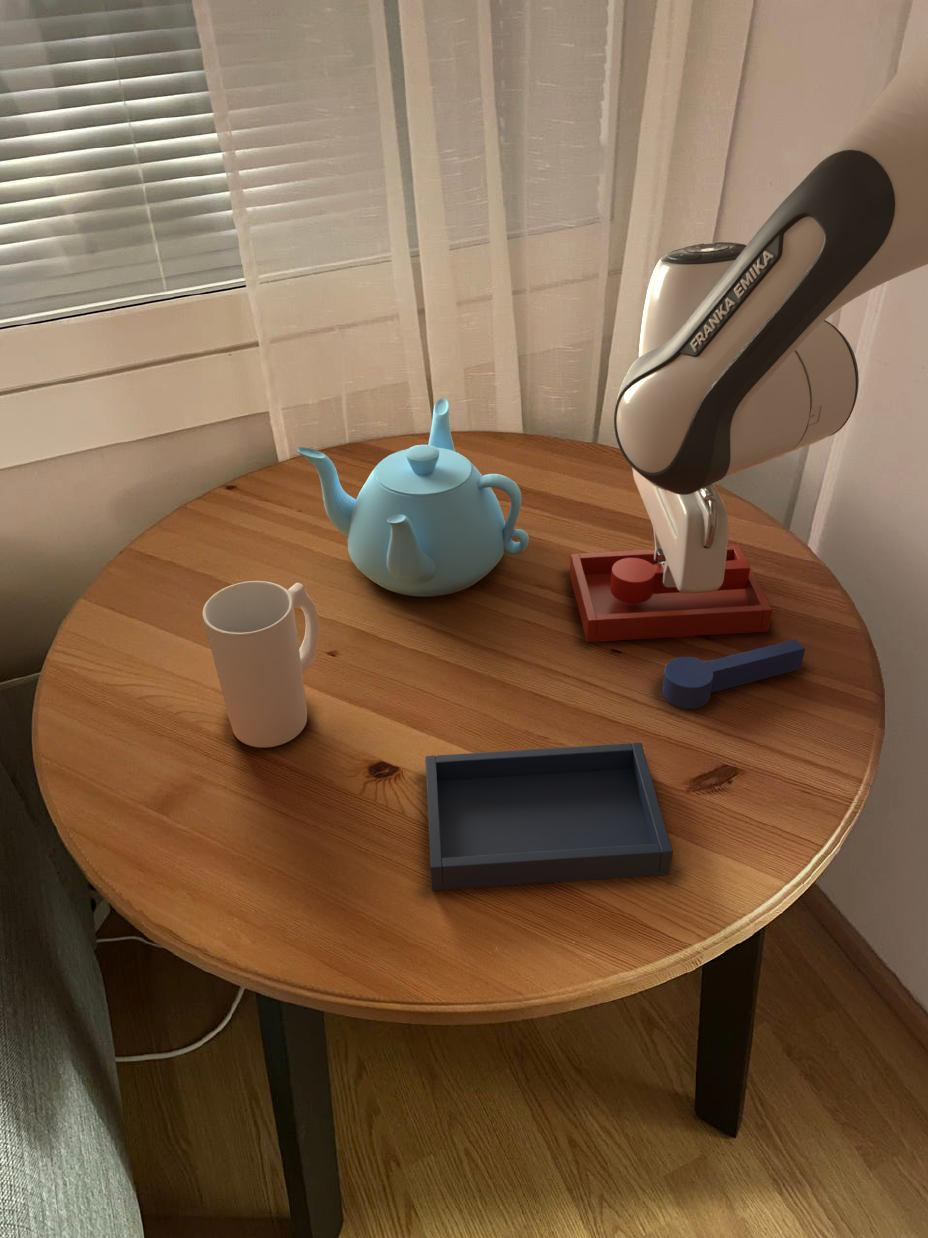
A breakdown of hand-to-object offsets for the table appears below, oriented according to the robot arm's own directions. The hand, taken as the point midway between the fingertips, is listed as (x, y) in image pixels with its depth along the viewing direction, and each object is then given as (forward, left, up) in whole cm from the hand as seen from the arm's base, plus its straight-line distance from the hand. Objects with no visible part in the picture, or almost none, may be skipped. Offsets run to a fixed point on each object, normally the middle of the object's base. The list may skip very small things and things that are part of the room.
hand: (667, 573), depth 93 cm
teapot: (+23, -10, -3) cm, 25 cm away
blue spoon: (-3, +12, -3) cm, 13 cm away
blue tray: (+15, +26, -3) cm, 30 cm away
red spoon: (-1, 0, -2) cm, 2 cm away
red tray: (0, 0, -3) cm, 3 cm away
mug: (+35, +12, -3) cm, 37 cm away
